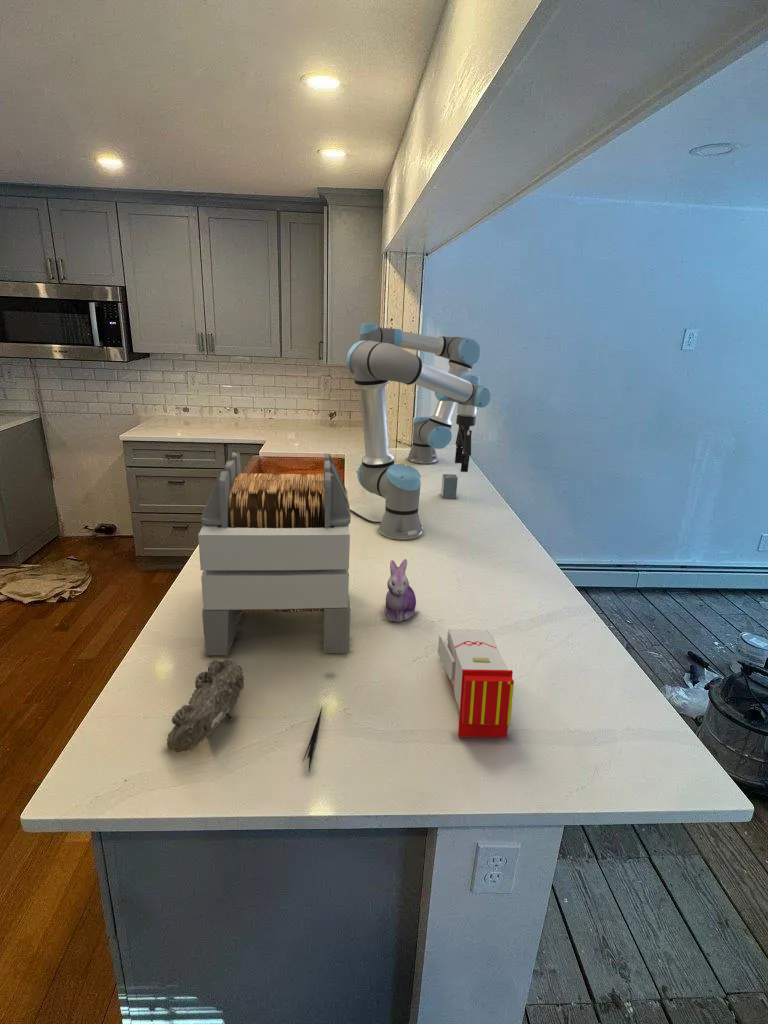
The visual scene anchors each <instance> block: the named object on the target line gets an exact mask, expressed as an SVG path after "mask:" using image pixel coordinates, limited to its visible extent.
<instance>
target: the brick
mask: <svg viewBox="0 0 768 1024" xmlns="http://www.w3.org/2000/svg"><path fill="white" fill-rule="evenodd" d="M457 490H458V476H457V474H453V473H443V474H442V478H441V491H440V495H441V498H442V499H445V500H446V499H447V500H456V499H457V493H458V492H457Z"/></svg>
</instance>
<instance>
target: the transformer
mask: <svg viewBox="0 0 768 1024" xmlns="http://www.w3.org/2000/svg"><path fill="white" fill-rule="evenodd" d="M241 463H242V462H241V453H240V452H235V451H233V452H231V455H230V457H229V459H227V460H226V463H225V466H224V468H223V470H222V471H220V474H219V475H218V477H217V479H216V482H215V483H214V486H213V489H212V491H211V494H210V495H209V498H208V499H207V502H206V505H205V507H204V509H203V511H202V514H201V517H200V520H201V524H202V527H201V529H200V530H199V532H198V535H197V538H198V550H199V552H198V553H199V563H200V565H199V567H200V571H202V573H201V575H200V580H201V581H200V582H201V594H202V605H203V607H202V609H201V610H202V611H201V617H202V629H203V638H204V639H203V640H204V649H205V650H204V651H205V652H204V655H205V656H206V657H212V656H228V654H229V652H230V650H231V647H232V645H233V643H234V640H235V638H236V635H237V632H238V623H240V620H241V617H242V614H244V613H250V614H251V613H253V614H254V613H257V614H258V613H298V612H301V613H302V612H308V613H309V612H322V614H323V654H344V655H346V654H347V653H349V652H350V639H351V604H350V595H349V594H350V593H349V586H350V585H349V584H350V572H349V571H350V570H349V569H350V549H351V548H350V547H351V545H350V542H351V533H350V532H351V531H350V526H349V525H350V524H351V520H352V516H351V515H352V514H351V512H350V510H351V509H350V502H349V496H348V490H347V488H346V486H345V484H344V482H343V480H342V478H341V474H340V473H339V471H338V469H337V466H336V465H335V462H334V460H333V458H332V455H331V454H330V453H326V452H324V453H323V473H322V474H321V473H318V474H316V475H315V474H314V473H306V474H303V475H302V474H301V473H280V474H273V473H244V472H243V473H242V466H241Z"/></svg>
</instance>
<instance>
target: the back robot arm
mask: <svg viewBox="0 0 768 1024" xmlns="http://www.w3.org/2000/svg"><path fill="white" fill-rule="evenodd" d="M366 340H367V341H369V340H371V341H375V342H382V343H390V344H393V345H396V346H398V347H400V348H402V349H408V350H413V351H419V352H425V353H429V354H430V353H431V354H434V356H436V357H442V358H444V359H447V360H448V365H449V369H448V371H447V372H448V373H450V374H453V375H455V376H457V377H460V378H461V375H463V374H468V373H469V372H471V371H472V369H473V366H474V365H475V364H476V363H478V362H479V360H480V359H481V357H482V356H481V355H482V348H481V346H480V344H479V342H478V341H477V340H475V339H473V338H470V337H462V336H443V335H438V336H431V335H425V334H420V333H414V332H409V331H403V330H402V329H400V328H395V327H394V328H391V327H381V326H378V324H377V323H374V322H372V323H371V322H362V323H361V324H360V329H359V341H366ZM457 404H458V403H457V402H452V401H446V402H445V401H439V400H438V402H437V405H436V408H435V410H434V412H433V413H434V414H433V415H431V416H417V417H414V419H413V426H412V427H413V428H412V443H411V444H412V445H410V446H411V448H410V451H409V453H408V456H407V461H408V462H410V463H413V464H418V465H432V464H436V463H438V455H437V450H441V449H444V448H446V447H447V446H448V445H450V443H451V441H452V439H453V438H452V437H453V434H452V431H451V429H452V426H453V423H452V421H451V420H452V416H453V414H454V411H455V408H456V405H457ZM436 449H437V450H436Z"/></svg>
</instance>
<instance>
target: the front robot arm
mask: <svg viewBox="0 0 768 1024" xmlns="http://www.w3.org/2000/svg"><path fill="white" fill-rule="evenodd" d="M345 360H346V366H347V369H348V370H349V371H350V373H351V374H353V379H354V385H355V386H356V387H357V388H359V395H360V407H361V408H360V409H361V419H362V429H363V431H362V432H363V441H364V442H363V443H364V452H365V454H364V456H363V457H362V458H361V462H360V464H359V467H358V468H357V480H358V483H359V485H360V486H361V487H362V488H363V489H365V491H367V492H368V493H371V494H374V495H377V496H379V497H381V498H383V499H385V504H384V505H385V507H384V508H385V509H384V513H383V515H382V519H381V521H379V520H378V521H377V520H376V521H374V520H370V519H369V518H366V517H365V516H362V515H361V514H359V513H358V512H356V511H354V510H352V509H350V513H352V514H354V515H356V516H357V517H359V518H360V519H362V520H364V521H366V522H368V523H371V524H379V527H378V533H379V534H380V535H381V536H382V537H385V538H387V539H389V540H395V541H410V540H415V539H418V538H420V537H421V536H422V535H423V525H422V524H421V518H420V515H419V507H420V506H419V505H420V496H421V495H420V494H421V482H422V481H421V473H420V471H419V470H417V468H416V467H413V466H410V465H406V464H401V463H400V464H399V463H397V464H395V456H394V455H393V454H391V452H390V441H389V429H388V428H389V427H388V426H389V425H388V413H387V398H386V386H387V384H388V383H389V382H397V383H400V384H403V385H408V386H411V385H416V386H419V387H421V388H424V389H427V390H429V391H432V392H433V393H434V396H435V398H436V399H437V400H438V401H445V402H446V401H452V402H457V403H456V404H457V408H456V409H457V411H456V414H457V415H456V419H455V423H456V425H458V428H457V429H458V430H457V434H456V439H455V443H454V444H455V447H456V448H455V455H454V464H460V472H462V473H468V472H469V465H470V457H471V456H472V432H473V430H472V429H471V428H470V427H474V426H475V425H476V422H477V416H476V415H477V411H478V410H479V408H481V409H482V408H483V409H484V408H486V407H487V406H488V405H489V404H490V402H491V399H492V391H491V389H490V388H489V387H487V386H484V385H481V376H480V375H477V374H470V373H467V374H463V375H461V378H460V377H457V376H455V375H453V374H450V373H448V372H449V371H446V370H443V369H441V368H438V367H436V366H434V365H431V364H429V363H427V362H424V361H423V359H422V357H420V356H418V355H416V354H414V353H412V352H411V351H408V350H406V349H405V348H401V347H398V346H396V345H393V344H390V343H382V342H375V341H371V340H369V341H367V340H366V341H360V340H359V341H357V342H355V343H353V345H352V346H351V347H350V348H349V350H348V352H347V356H346V359H345Z"/></svg>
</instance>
